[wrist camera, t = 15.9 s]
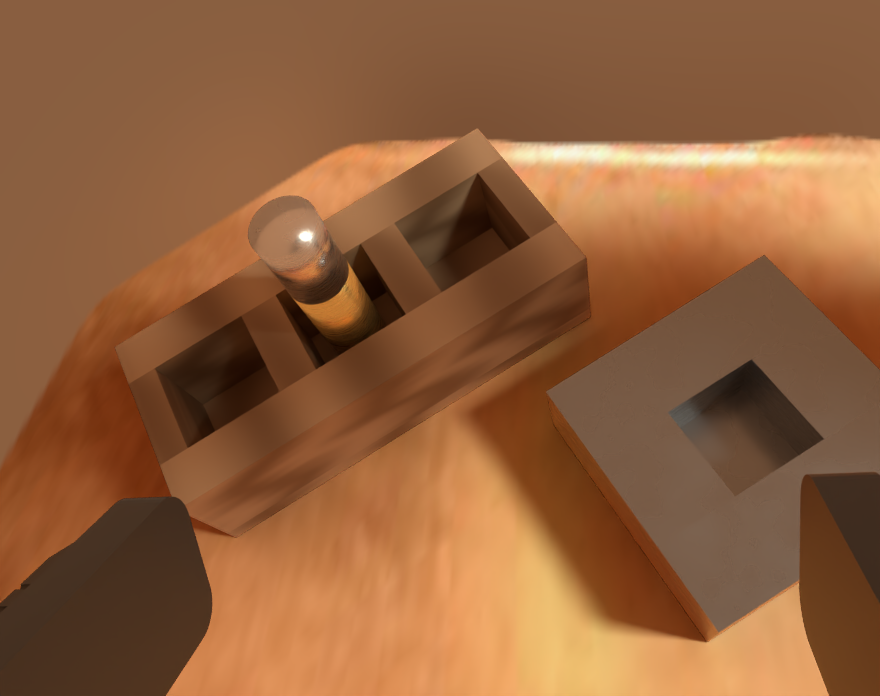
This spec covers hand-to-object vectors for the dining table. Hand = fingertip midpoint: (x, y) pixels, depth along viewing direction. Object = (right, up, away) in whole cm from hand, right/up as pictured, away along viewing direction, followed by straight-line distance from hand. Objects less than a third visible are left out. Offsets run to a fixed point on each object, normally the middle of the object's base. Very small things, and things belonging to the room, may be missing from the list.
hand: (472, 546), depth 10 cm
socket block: (+13, -3, +26) cm, 30 cm away
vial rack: (-4, +2, +33) cm, 33 cm away
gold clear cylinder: (-4, +2, +32) cm, 32 cm away
